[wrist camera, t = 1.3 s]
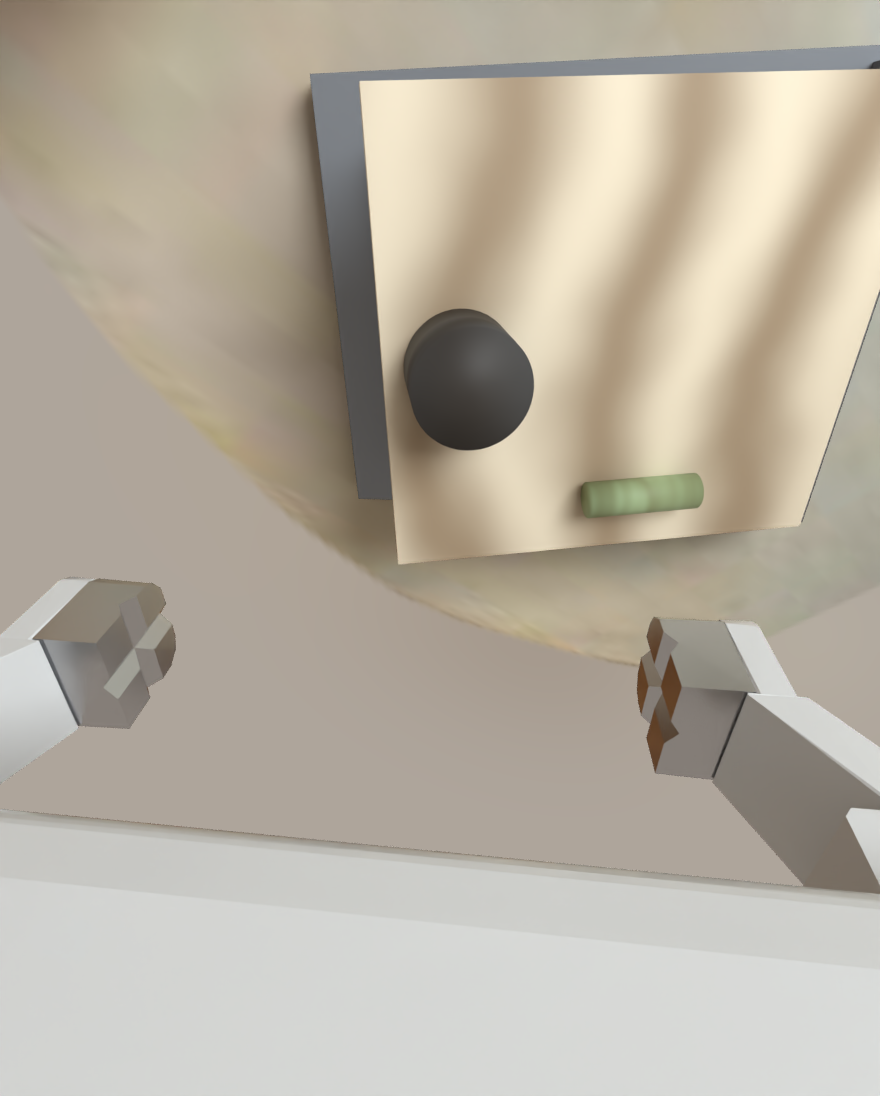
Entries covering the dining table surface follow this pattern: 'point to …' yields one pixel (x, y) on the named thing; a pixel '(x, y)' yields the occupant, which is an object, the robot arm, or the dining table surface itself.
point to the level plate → (616, 299)
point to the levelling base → (352, 221)
